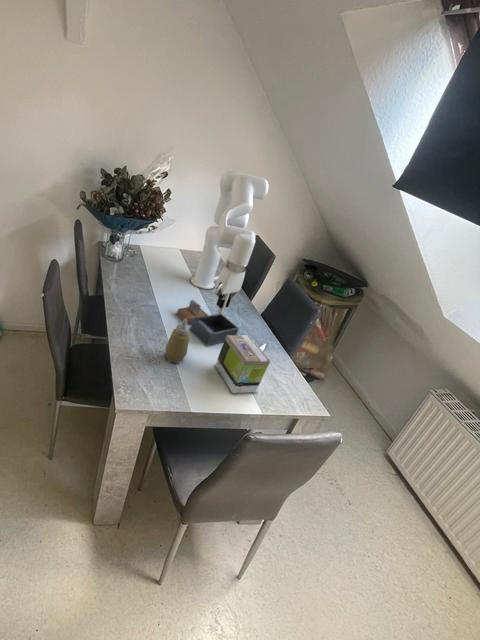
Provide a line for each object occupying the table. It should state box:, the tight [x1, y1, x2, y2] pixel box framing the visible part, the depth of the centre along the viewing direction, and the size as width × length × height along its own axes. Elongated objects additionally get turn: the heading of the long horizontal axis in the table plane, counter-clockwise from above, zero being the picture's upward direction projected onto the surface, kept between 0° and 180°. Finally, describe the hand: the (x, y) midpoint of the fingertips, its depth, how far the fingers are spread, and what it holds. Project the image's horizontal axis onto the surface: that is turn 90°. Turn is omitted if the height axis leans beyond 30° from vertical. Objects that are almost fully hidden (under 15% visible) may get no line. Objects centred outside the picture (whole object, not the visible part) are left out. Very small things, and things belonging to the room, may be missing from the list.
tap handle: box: [188, 299, 202, 315], centre depth 170 cm, size 6×2×5 cm, turn 28°
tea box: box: [215, 334, 271, 394], centre depth 138 cm, size 15×10×15 cm, turn 12°
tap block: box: [176, 305, 209, 325], centre depth 172 cm, size 11×10×3 cm
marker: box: [217, 293, 230, 314], centre depth 155 cm, size 3×3×13 cm
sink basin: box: [189, 313, 239, 347], centre depth 163 cm, size 16×12×6 cm
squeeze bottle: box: [165, 319, 191, 364], centre depth 141 cm, size 8×8×18 cm
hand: (222, 305), depth 156 cm, fingers closed on marker, 2 cm apart
